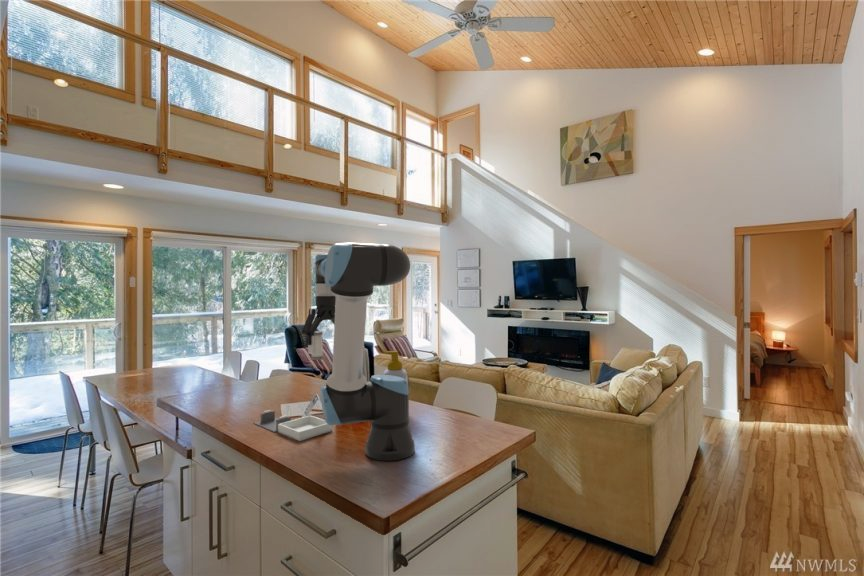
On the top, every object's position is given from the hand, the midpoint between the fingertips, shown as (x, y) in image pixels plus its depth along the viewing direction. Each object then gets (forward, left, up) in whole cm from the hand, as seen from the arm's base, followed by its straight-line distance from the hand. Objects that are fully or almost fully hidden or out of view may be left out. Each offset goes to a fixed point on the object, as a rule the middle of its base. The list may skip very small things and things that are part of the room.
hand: (326, 351), depth 162 cm
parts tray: (-4, +12, -26) cm, 29 cm away
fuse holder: (+11, +15, -26) cm, 32 cm away
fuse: (0, +4, -2) cm, 5 cm away
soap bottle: (-14, -22, -27) cm, 37 cm away
